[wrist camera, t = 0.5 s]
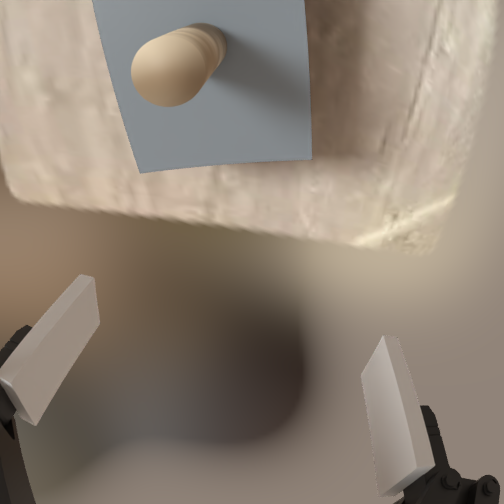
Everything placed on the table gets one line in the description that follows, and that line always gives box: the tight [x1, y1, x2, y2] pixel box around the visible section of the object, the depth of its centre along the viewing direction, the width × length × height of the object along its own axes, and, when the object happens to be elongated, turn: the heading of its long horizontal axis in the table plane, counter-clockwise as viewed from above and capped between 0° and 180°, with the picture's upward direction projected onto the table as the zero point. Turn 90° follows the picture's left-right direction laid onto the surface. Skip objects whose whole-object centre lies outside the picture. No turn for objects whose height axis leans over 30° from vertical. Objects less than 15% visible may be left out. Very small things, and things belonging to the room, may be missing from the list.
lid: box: [92, 0, 312, 173], centre depth 19 cm, size 23×17×10 cm
